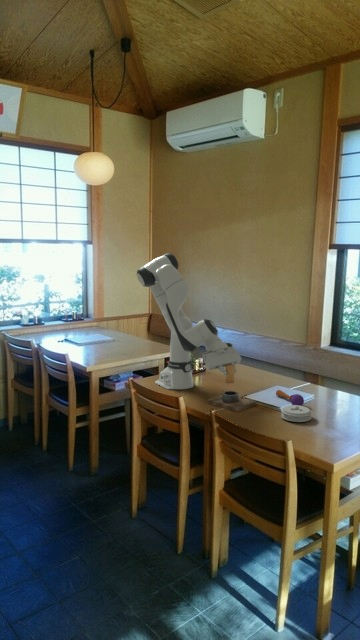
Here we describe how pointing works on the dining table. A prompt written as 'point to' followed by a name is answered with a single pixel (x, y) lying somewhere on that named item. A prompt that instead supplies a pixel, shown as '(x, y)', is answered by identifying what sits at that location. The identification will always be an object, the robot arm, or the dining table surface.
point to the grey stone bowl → (230, 396)
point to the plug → (230, 374)
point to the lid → (296, 413)
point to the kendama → (292, 398)
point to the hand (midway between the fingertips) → (230, 373)
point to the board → (236, 406)
